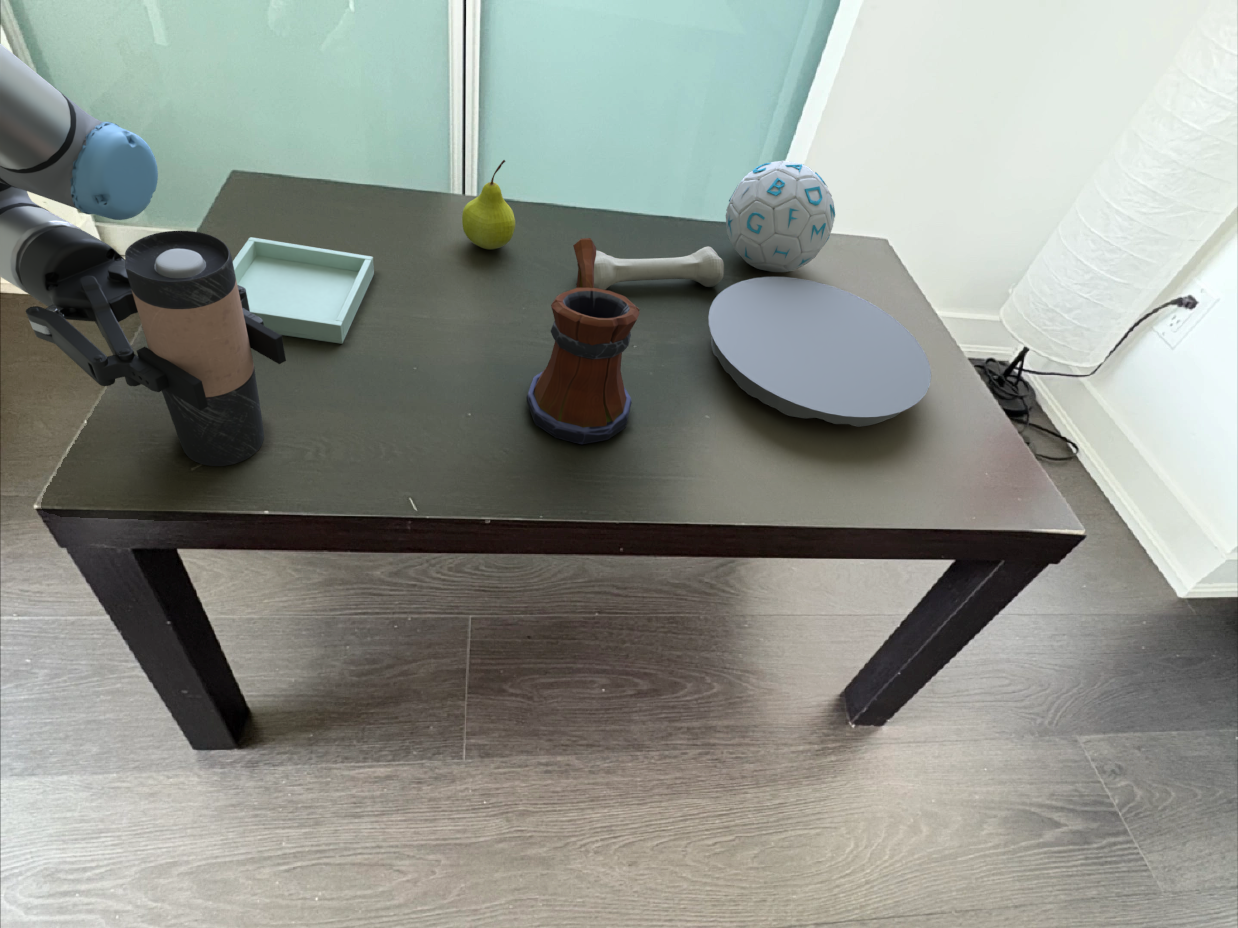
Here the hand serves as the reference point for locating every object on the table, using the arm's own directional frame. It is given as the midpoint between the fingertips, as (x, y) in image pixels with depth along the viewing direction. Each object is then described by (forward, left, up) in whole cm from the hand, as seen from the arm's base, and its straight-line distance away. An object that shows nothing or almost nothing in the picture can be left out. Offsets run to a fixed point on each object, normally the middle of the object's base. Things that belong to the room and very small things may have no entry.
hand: (242, 372), depth 66 cm
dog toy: (+50, +26, -11) cm, 57 cm away
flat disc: (+64, +6, -11) cm, 65 cm away
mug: (+33, +6, -11) cm, 35 cm away
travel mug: (-3, +4, -11) cm, 12 cm away
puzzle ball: (+70, +30, -11) cm, 77 cm away
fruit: (+30, +37, -11) cm, 49 cm away
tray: (+5, +27, -11) cm, 29 cm away
